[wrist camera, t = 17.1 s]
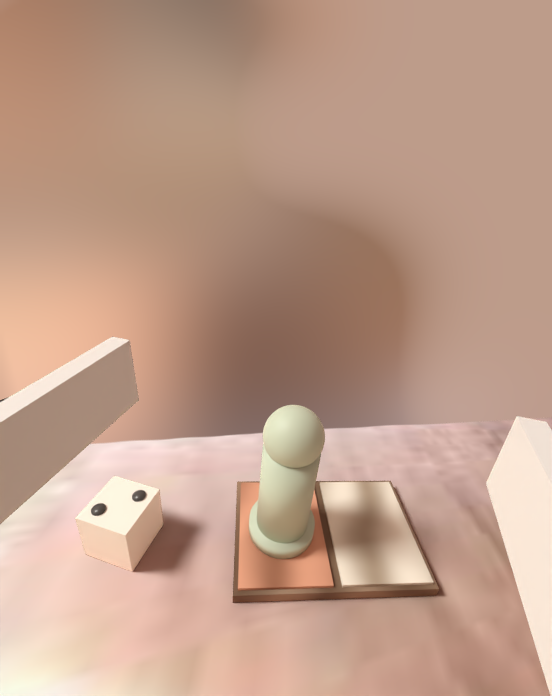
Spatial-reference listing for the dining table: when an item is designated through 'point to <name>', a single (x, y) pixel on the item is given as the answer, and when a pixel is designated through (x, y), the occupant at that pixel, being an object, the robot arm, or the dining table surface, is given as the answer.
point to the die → (120, 522)
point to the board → (336, 549)
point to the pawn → (287, 482)
